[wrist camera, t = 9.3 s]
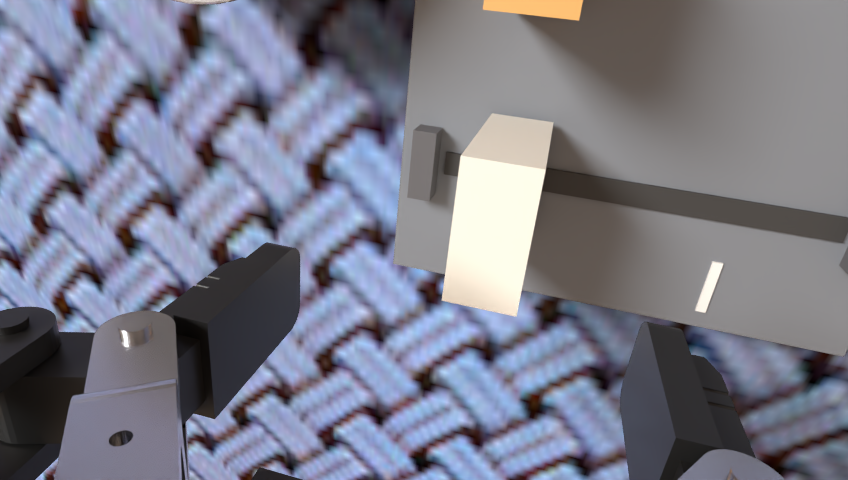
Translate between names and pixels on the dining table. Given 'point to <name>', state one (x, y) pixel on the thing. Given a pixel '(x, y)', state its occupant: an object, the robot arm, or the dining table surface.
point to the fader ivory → (496, 213)
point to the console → (653, 155)
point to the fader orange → (538, 7)
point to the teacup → (204, 1)
